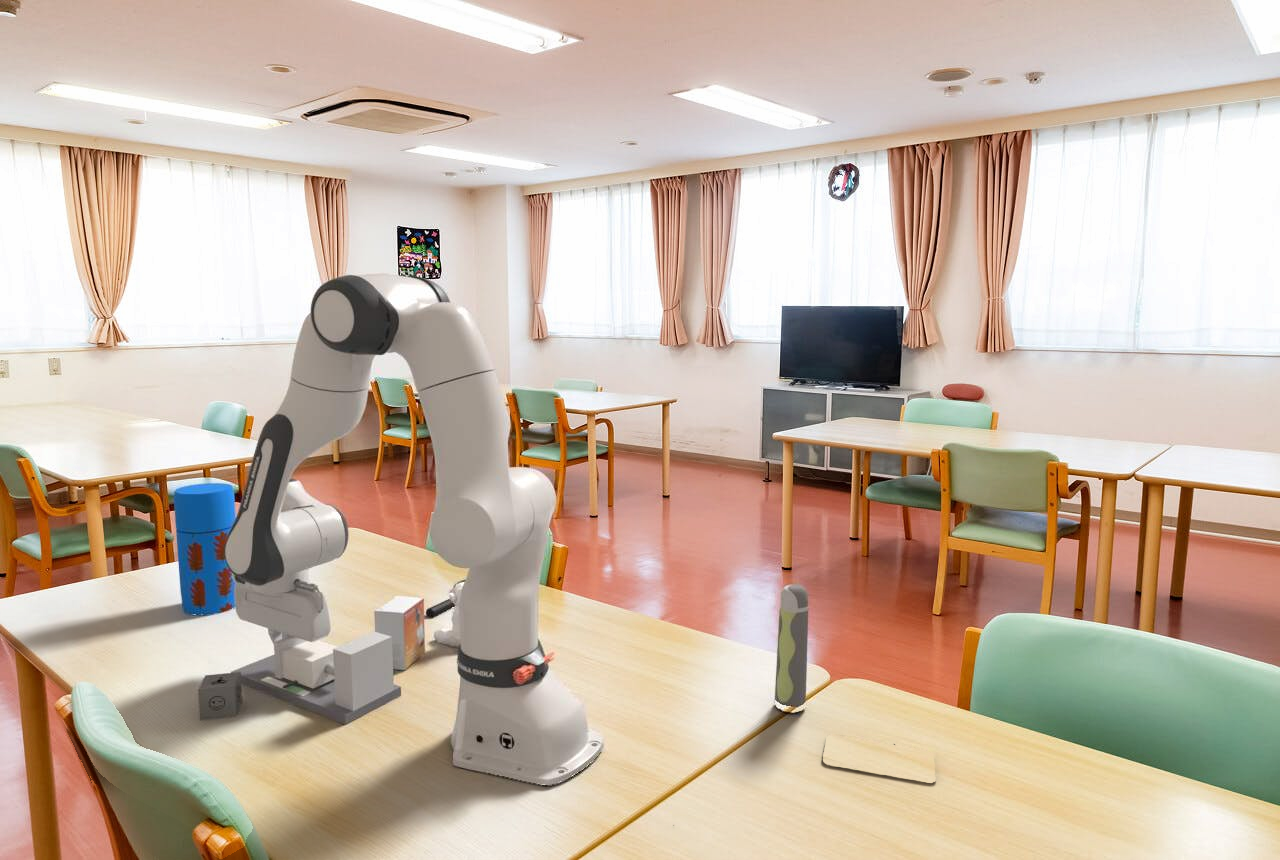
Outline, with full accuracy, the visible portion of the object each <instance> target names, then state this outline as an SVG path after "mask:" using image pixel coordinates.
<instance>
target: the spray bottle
mask: <svg viewBox="0 0 1280 860" xmlns="http://www.w3.org/2000/svg"><path fill="white" fill-rule="evenodd" d="M778 615H779V617H778V632H777V634H778V635H777V649H776V651H777V652H776V665H775V666H776V670H775V686H774V687H775V688H774V701H775V700H776V701H777V702H779V703H780V704H782V705H786V706H791V707H799V706H801V705H803V704H804V703H805V702H806V703H807V701H806V700H807V678H808V677H807V675H808V674H807V673H808V672H807V671H808V637H809V634H808V633H809V632H808V631H809V596H808V591H807V589H806V587H804V586H803V585H801V584H797V583H795V584H794V583H793V584H788V585H786V586H784V587H783V588H782V589H781V592H780V607H779V613H778Z"/></svg>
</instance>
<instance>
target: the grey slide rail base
mask: <svg viewBox="0 0 1280 860" xmlns="http://www.w3.org/2000/svg"><path fill="white" fill-rule="evenodd" d="M333 660H334V679H333V680H331V681H329V682H327V683H324V684H322V685H320V686H318V687H316V688H314V689H313V688H310V687H307V686H305V685H302V684H299V683H296V684H294V685H292V686H289V687H287V688H283V686H284V685H286V684H288V683H290V682H293V681H291V680H288V679H286V678H281V679H280V678H277V677H276V671H275V653H274V654H272V655H270V656H267V657H264V658H262V659H260V660H257V661H254V662H252V663H250V664H247V665H245V666H242V667H238V668H237V669H234V670H232V671H230V673H235V672H241V685H243V686H246V687H248V688H250V689H253V690H255V691H259V692H260V693H264V694H266V695H269V696H271V697H274V698H277V699H278V700H281V701H285V702H286V703H289V704H291V705H295V706H296V707H299V708H302V709H305V710H307V711H310V712H312V713H315V714H317V715H320V716H322V717H324V718H328V719H330V720H332V721H335V722H338V723H340V724H343V725H348V724H349V723H351V722H354V721H355V720H358V719H360V718H362V716H365V715H368V713H370V712H373V711H374V710H377V709H378V708H381V707H382V706H384V705H386V704H388V703H389V702H392V701H394V700H395V699H397V698H399V697H401V696H402V687H401V686H400V685H397V684H395V683H394V669H393V653H392V637H391V636H388V635H384V634H381V633H378V632H375V631H372V632H370V633H368V634H365V635H362V636H360V637H358V638H355V639H353V640H351V641H348V642H346V643H344V644H342V645H338V646H337V647H336V648H334V649H333Z"/></svg>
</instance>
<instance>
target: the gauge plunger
mask: <svg viewBox="0 0 1280 860" xmlns="http://www.w3.org/2000/svg"><path fill="white" fill-rule="evenodd" d="M336 647H338V646H336V645H332V644H330V643H327V642H324V641H322V640H317V641H315V642H309V641H305V640H302V639H299V638H296V637H293V636H289V637H286V638H283V639H281V640H278V641H276V642H274V644H273V653H274V654H275V671H276V677H277V678H280V679H281V678H286V679H288V680H291V681H293V682H290V683H288V684H286V685H284V686H283V688H287V687H289V686H292V685H294V684H296V683H299V684H302V685H305V686H307V687H310V688H313V689H314V688H316V687H318V686H320V685H322V684H324V683H327V682H329V681H331V680H333V679H334V660H333V649H334V648H336Z"/></svg>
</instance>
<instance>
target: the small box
mask: <svg viewBox="0 0 1280 860" xmlns="http://www.w3.org/2000/svg"><path fill="white" fill-rule="evenodd" d="M373 611H374V612H373V613H374V616H373V617H374V632H378V633H381V634H384V635H388V636H391V637H392V653H393V670H397V671H399V670H400V671H406V670H407V669H408V668H409V667H410V666H412V665H413V663H415V662H416V661H417V660H418V659H419V658H421V657H422V656H423V655H425V653H426V643H425V642H426V639H425V638H426V637H425V598H424V597H415V596H405V595H395V596H394V597H393V598H392V599H391V600H389V601H387V602H386V603H385V604H383V605H382V606H380V607H379V608H377V609H375V610H373Z"/></svg>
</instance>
